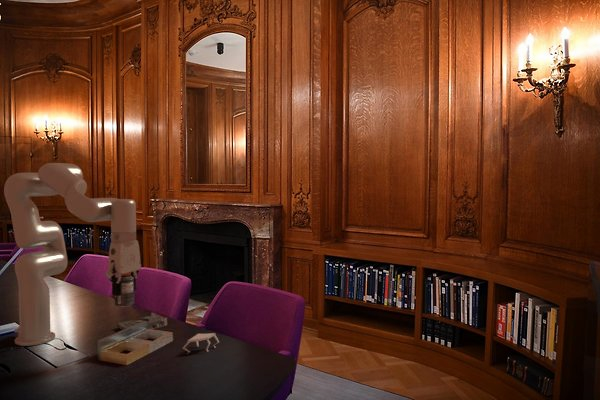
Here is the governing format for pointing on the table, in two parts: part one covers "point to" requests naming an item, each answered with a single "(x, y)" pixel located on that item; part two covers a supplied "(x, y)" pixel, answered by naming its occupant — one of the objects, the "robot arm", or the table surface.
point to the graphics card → (150, 320)
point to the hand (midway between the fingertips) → (124, 292)
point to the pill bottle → (126, 291)
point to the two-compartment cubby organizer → (132, 344)
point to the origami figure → (202, 337)
